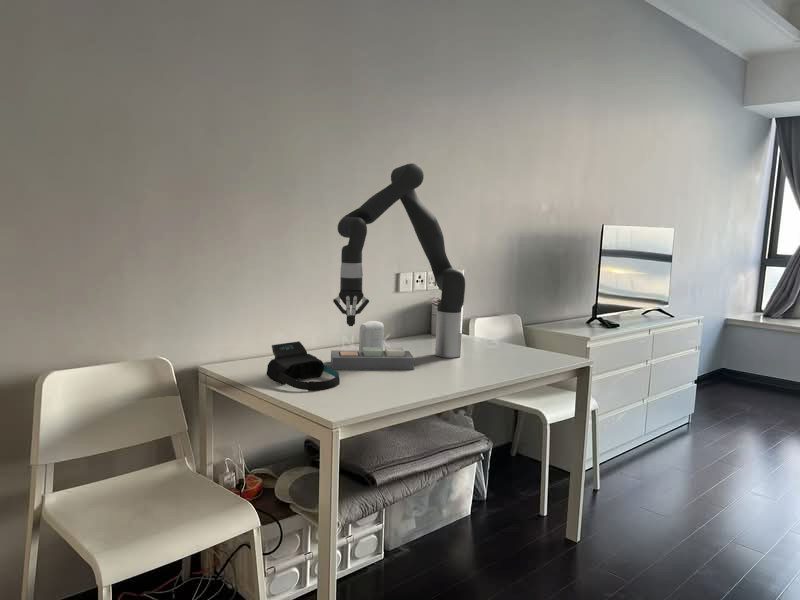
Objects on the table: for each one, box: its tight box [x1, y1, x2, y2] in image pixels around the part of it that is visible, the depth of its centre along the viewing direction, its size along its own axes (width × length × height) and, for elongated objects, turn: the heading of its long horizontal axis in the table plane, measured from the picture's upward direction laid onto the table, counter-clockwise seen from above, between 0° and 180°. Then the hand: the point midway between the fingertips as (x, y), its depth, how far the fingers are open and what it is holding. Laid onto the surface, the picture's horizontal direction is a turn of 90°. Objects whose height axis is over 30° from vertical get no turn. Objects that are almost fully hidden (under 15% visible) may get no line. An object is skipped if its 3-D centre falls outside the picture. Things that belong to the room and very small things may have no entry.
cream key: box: [384, 347, 406, 357], centre depth 221 cm, size 6×6×3 cm
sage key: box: [363, 347, 382, 356], centre depth 220 cm, size 6×6×3 cm
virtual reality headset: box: [266, 340, 341, 392], centre depth 194 cm, size 19×22×10 cm
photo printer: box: [358, 320, 385, 351], centre depth 240 cm, size 10×4×12 cm, turn 134°
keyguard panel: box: [330, 349, 415, 371], centre depth 220 cm, size 28×12×4 cm, turn 99°
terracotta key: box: [340, 352, 359, 356], centre depth 219 cm, size 6×6×3 cm
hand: (350, 325), depth 217 cm, fingers closed
